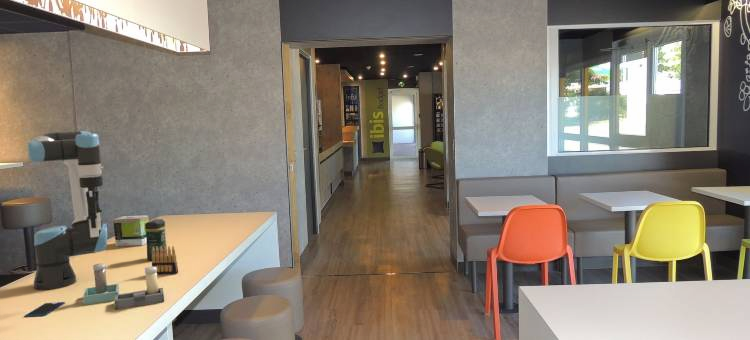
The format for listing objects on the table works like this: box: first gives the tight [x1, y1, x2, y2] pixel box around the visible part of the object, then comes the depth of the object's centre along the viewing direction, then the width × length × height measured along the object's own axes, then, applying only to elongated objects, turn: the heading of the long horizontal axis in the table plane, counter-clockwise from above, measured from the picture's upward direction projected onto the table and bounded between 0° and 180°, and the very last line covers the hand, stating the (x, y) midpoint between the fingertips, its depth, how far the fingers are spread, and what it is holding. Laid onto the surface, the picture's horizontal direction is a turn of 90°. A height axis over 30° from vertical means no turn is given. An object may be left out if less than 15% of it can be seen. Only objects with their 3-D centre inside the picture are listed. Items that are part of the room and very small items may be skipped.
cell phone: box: [23, 301, 66, 318], centre depth 198 cm, size 7×14×1 cm, turn 1°
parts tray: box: [82, 283, 120, 306], centre depth 208 cm, size 11×11×3 cm
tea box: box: [113, 214, 150, 247], centre depth 300 cm, size 15×10×15 cm, turn 84°
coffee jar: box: [145, 218, 168, 261], centre depth 265 cm, size 10×8×19 cm
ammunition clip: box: [151, 245, 179, 276], centre depth 238 cm, size 11×2×12 cm, turn 86°
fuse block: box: [114, 287, 165, 310], centre depth 201 cm, size 16×8×3 cm, turn 113°
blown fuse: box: [92, 263, 108, 294], centre depth 208 cm, size 4×4×12 cm
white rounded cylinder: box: [144, 265, 159, 295], centre depth 203 cm, size 4×4×12 cm
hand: (96, 233), depth 206 cm, fingers open, 13 cm apart
